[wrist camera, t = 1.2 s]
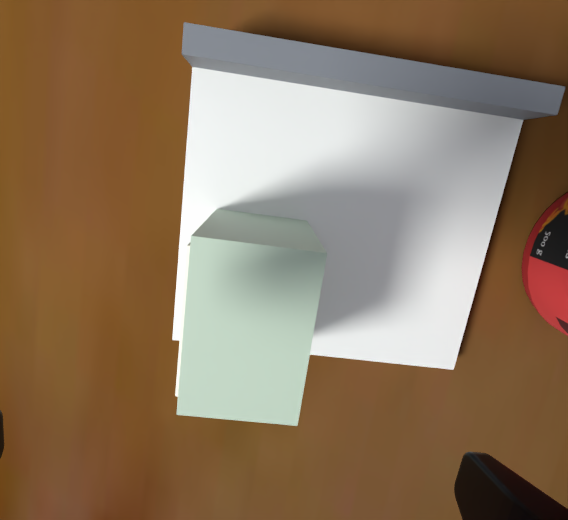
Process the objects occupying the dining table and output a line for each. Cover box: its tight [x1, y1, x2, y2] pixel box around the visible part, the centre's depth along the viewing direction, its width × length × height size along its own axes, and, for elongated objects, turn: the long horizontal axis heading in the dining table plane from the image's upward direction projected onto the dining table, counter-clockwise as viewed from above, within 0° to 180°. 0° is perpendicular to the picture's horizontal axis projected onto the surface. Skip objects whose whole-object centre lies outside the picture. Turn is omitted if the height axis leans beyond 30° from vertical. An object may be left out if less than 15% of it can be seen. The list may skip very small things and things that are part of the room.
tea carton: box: [175, 209, 327, 426], centre depth 15 cm, size 4×6×6 cm
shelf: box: [172, 22, 565, 370], centre depth 17 cm, size 13×14×3 cm
